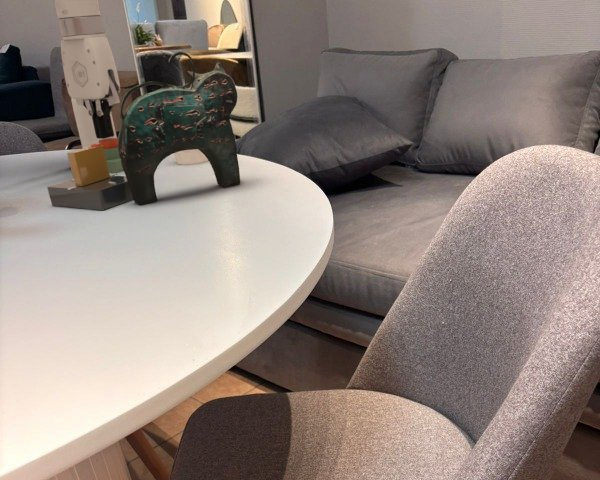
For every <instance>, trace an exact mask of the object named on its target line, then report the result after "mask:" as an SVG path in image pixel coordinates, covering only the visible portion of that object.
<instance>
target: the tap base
mask: <svg viewBox="0 0 600 480" xmlns="http://www.w3.org/2000/svg"><path fill="white" fill-rule="evenodd" d="M46 189H47V192H48V195H49V199H50V203H51V205H52V207H53V206H54V207H63V208H74V209H82V208H83V210H93V209H94V210H95V211H105V210H108V209H111V208H114V207H117V206H119V205H122V204H125V203H128V202H130V201H134V199H133V196H132V193H131V190H130V187H129V184H128V181H127V179H126V175H118V173H112V174H110V178H107V179H104V180H101V181H98V182H94V183H91V184H88V185H85V186H76V185H75V181H74V178H71V179H69V180H65V181H62V182H58V183H55V184H52V185H49V186H47V187H46Z"/></svg>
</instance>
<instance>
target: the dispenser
mask: <svg viewBox="0 0 600 480" xmlns="http://www.w3.org/2000/svg"><path fill="white" fill-rule="evenodd" d="M104 153H105V157H106V161H107V166H108V170H109V174H120V173H124V171H123V167H122V164H121V159H120V155H119V151H118V147H116V148H111V149H104Z"/></svg>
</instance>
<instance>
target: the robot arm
mask: <svg viewBox="0 0 600 480" xmlns="http://www.w3.org/2000/svg"><path fill="white" fill-rule="evenodd" d="M53 2H54V7H55V11H56V16H57V20H58V24H59V30H60V33H61V38H62V39H61V40H60V54H61V62H62V69H63V75H64V80H65V85H66V90H67V94H68V96H69V97H70V99H71V98H73V99H76V102H77V104H79V105H82V106H85V108H86V109H87V110H88V113H89V115H90V116H92V120H93V124H94V129H95V133H96V137H97V138H98V139H100V138H101V139H104V138H109V137H113V136H114V132H113V127H112V122H111V117H110V114H112V115H113V107H114V106H116V105H118V104H120V103H121V99H120V96H119V94H121V85H120V84H121V83H120V78H119V74H118V73H119V72H118V69H117V65H116V62H115V58H114V54H113V50H112V48H111V45H110V42H109V39H108V37H107V36H106V34H105V28H104V24H103V23H104V22H103V18H102V14H101V8H100V4H99V0H53Z"/></svg>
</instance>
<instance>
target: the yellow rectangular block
mask: <svg viewBox="0 0 600 480" xmlns="http://www.w3.org/2000/svg"><path fill="white" fill-rule="evenodd" d="M66 155H67V158H68V162H69V166H70V170H71V173H72V179H74V181H75V185H76V186H85V185H88V184H91V183H94V182H98V181H101V180H104V179H107V178H110V175H111V173H109V170H108V166H107V161H106V157H105V153H104V148H103V145H101V144H93V145H91V147H87V148H80V149H76V150H72V151H69V152H67V153H66Z"/></svg>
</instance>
